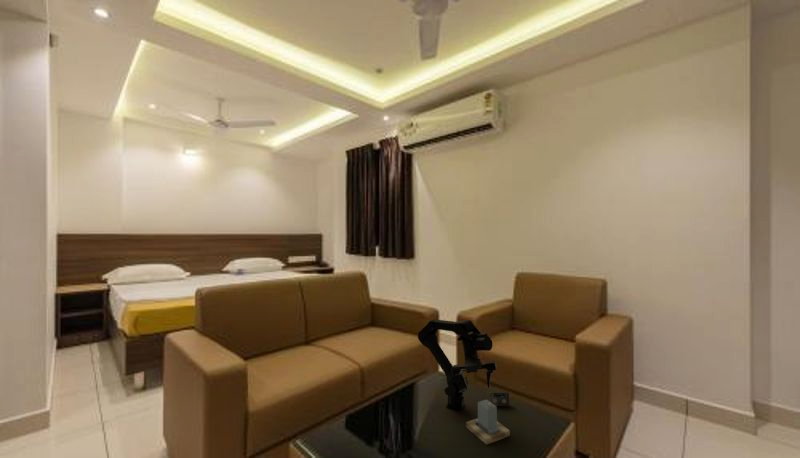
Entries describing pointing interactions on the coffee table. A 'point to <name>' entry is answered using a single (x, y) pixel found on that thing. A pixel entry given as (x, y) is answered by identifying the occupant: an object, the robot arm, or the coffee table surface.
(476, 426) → the plate
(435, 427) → the coffee table surface
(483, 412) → the servo
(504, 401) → the mini dv tape
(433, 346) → the robot arm
